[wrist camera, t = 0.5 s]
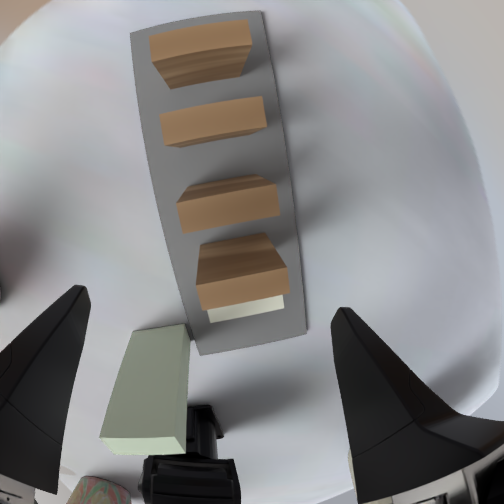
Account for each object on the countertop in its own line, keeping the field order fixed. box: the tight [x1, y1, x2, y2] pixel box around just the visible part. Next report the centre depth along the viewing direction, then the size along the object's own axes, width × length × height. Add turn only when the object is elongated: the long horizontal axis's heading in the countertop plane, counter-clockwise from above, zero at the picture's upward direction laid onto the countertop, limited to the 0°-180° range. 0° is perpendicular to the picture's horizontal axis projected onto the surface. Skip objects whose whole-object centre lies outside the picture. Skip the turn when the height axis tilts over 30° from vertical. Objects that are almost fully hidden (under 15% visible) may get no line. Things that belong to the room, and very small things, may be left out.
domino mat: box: [130, 11, 307, 356], centre depth 21 cm, size 28×10×1 cm, turn 9°
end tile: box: [149, 19, 252, 90], centre depth 14 cm, size 2×5×7 cm, turn 99°
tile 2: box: [159, 96, 267, 148], centre depth 16 cm, size 2×5×7 cm, turn 99°
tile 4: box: [196, 233, 290, 311], centre depth 19 cm, size 2×5×7 cm, turn 99°
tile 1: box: [99, 324, 191, 455], centre depth 19 cm, size 2×5×12 cm, turn 99°
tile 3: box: [176, 174, 280, 234], centre depth 18 cm, size 2×5×7 cm, turn 99°
